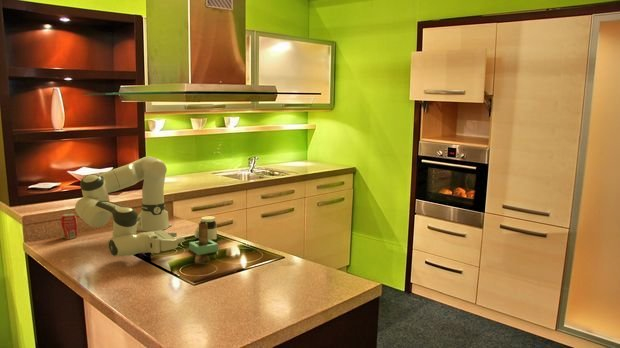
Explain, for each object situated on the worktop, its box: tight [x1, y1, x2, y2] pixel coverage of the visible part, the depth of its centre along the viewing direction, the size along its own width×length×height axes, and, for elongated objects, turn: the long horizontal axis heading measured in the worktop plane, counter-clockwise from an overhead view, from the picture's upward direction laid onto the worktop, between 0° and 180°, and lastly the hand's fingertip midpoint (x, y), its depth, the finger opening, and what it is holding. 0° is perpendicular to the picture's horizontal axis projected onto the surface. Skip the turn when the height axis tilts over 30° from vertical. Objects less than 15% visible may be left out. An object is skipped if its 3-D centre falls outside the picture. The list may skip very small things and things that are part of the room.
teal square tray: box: [188, 239, 219, 256], centre depth 230 cm, size 10×10×4 cm
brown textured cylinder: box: [198, 220, 208, 246], centre depth 229 cm, size 4×4×14 cm
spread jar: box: [194, 215, 218, 242], centre depth 246 cm, size 12×11×12 cm
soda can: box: [60, 212, 79, 240], centre depth 248 cm, size 7×7×12 cm
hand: (180, 236), depth 222 cm, fingers open, 8 cm apart
